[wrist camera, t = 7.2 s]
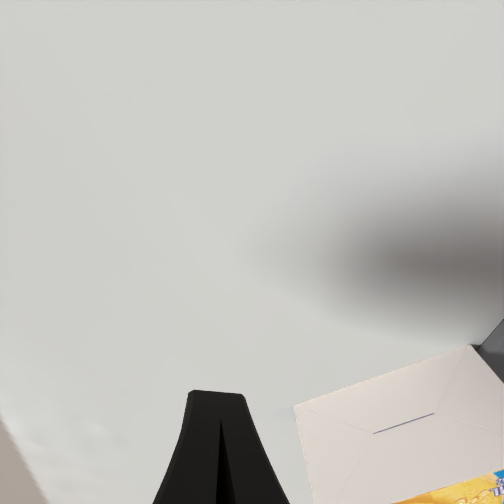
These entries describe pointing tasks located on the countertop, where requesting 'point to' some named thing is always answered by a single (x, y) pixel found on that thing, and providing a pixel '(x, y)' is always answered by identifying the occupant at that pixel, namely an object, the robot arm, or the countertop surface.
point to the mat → (494, 351)
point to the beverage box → (409, 436)
